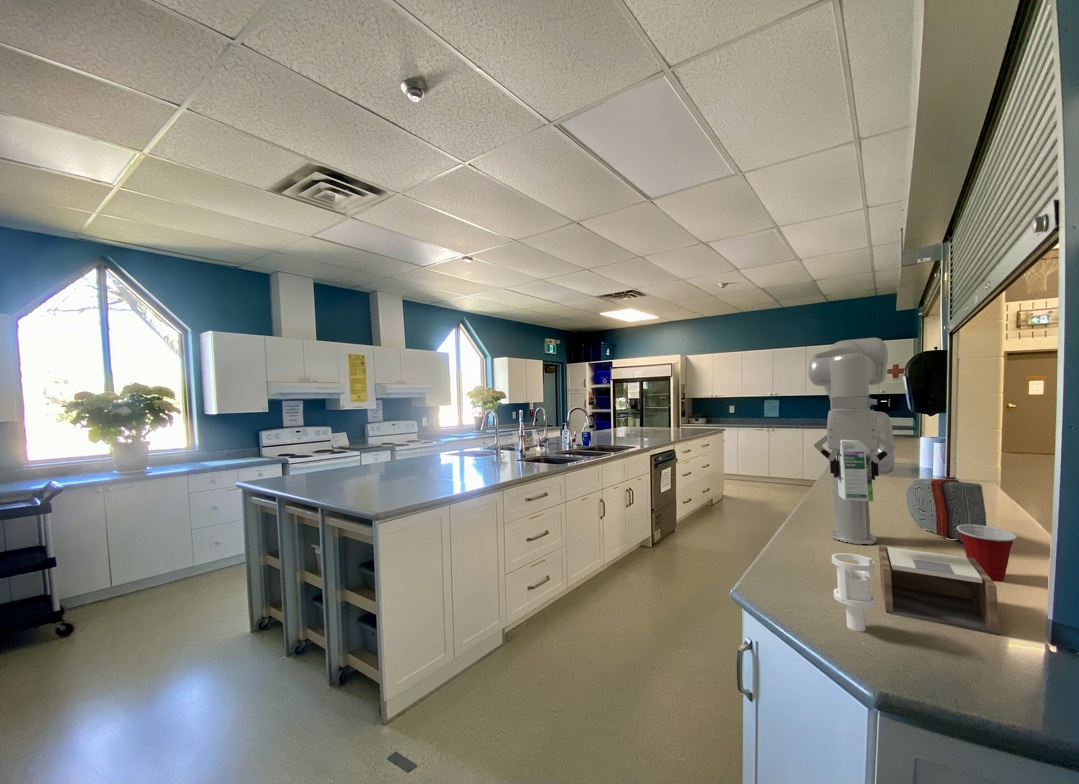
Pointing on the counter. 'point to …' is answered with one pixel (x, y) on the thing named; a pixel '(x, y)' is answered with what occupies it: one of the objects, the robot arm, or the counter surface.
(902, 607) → the trapdoor frame
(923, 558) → the trapdoor
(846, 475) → the syrup box
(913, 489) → the decorative stone tablet
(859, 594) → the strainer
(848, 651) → the counter surface
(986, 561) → the plastic cup
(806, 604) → the counter surface
